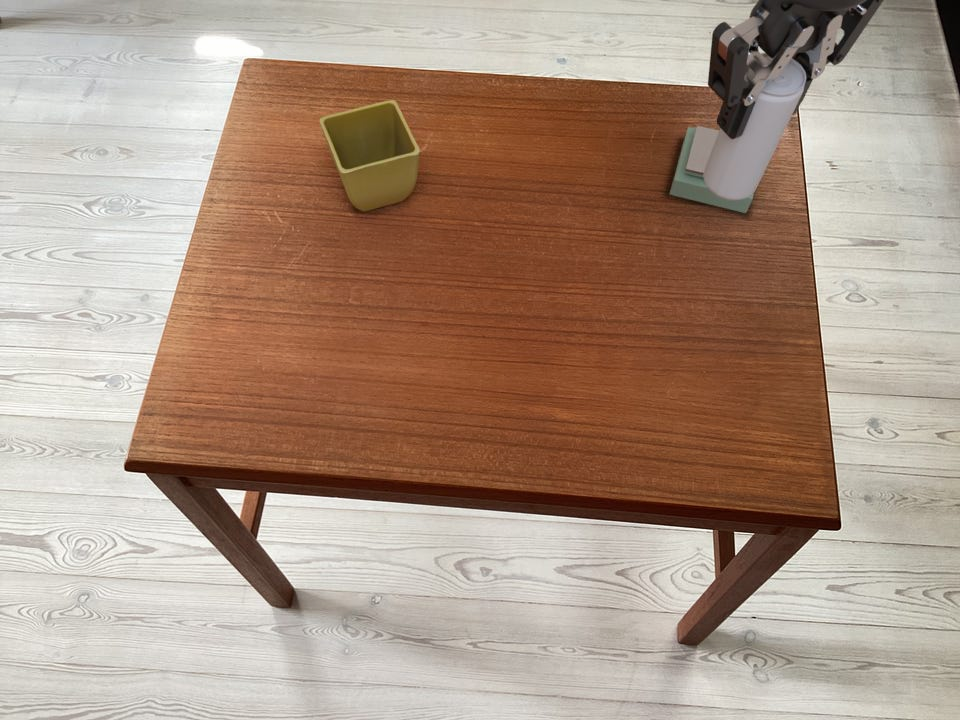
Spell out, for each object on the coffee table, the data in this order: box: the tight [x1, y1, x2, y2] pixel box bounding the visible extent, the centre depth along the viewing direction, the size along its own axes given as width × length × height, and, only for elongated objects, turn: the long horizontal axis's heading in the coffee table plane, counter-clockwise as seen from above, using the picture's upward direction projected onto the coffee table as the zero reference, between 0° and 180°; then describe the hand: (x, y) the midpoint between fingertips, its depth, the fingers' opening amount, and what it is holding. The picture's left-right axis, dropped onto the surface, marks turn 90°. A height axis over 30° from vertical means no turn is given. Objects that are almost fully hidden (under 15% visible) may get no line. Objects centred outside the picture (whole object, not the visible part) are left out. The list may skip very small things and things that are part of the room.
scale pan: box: [685, 125, 720, 178], centre depth 89 cm, size 7×7×1 cm
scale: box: [669, 126, 755, 214], centre depth 90 cm, size 9×9×3 cm
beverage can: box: [703, 52, 806, 201], centre depth 63 cm, size 5×5×12 cm
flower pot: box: [319, 99, 421, 213], centre depth 86 cm, size 9×9×9 cm
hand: (756, 119), depth 62 cm, fingers closed on beverage can, 5 cm apart
